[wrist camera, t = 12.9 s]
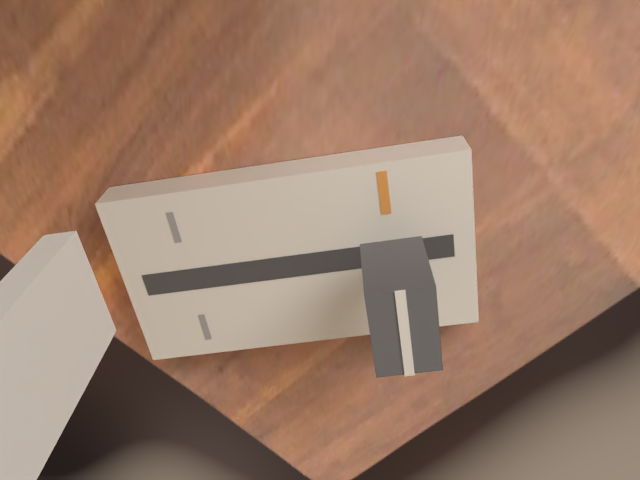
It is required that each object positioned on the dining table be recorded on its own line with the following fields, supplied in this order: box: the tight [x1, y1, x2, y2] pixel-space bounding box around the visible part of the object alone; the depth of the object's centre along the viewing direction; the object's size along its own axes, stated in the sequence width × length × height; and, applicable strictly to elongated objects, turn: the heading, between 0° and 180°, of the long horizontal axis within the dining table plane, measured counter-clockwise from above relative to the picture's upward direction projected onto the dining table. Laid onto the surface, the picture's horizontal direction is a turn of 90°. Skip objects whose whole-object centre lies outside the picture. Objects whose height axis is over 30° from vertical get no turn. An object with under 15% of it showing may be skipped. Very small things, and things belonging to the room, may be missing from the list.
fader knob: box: [360, 236, 443, 378], centre depth 38 cm, size 6×4×9 cm, turn 9°
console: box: [95, 136, 479, 360], centre depth 44 cm, size 14×26×3 cm, turn 99°
